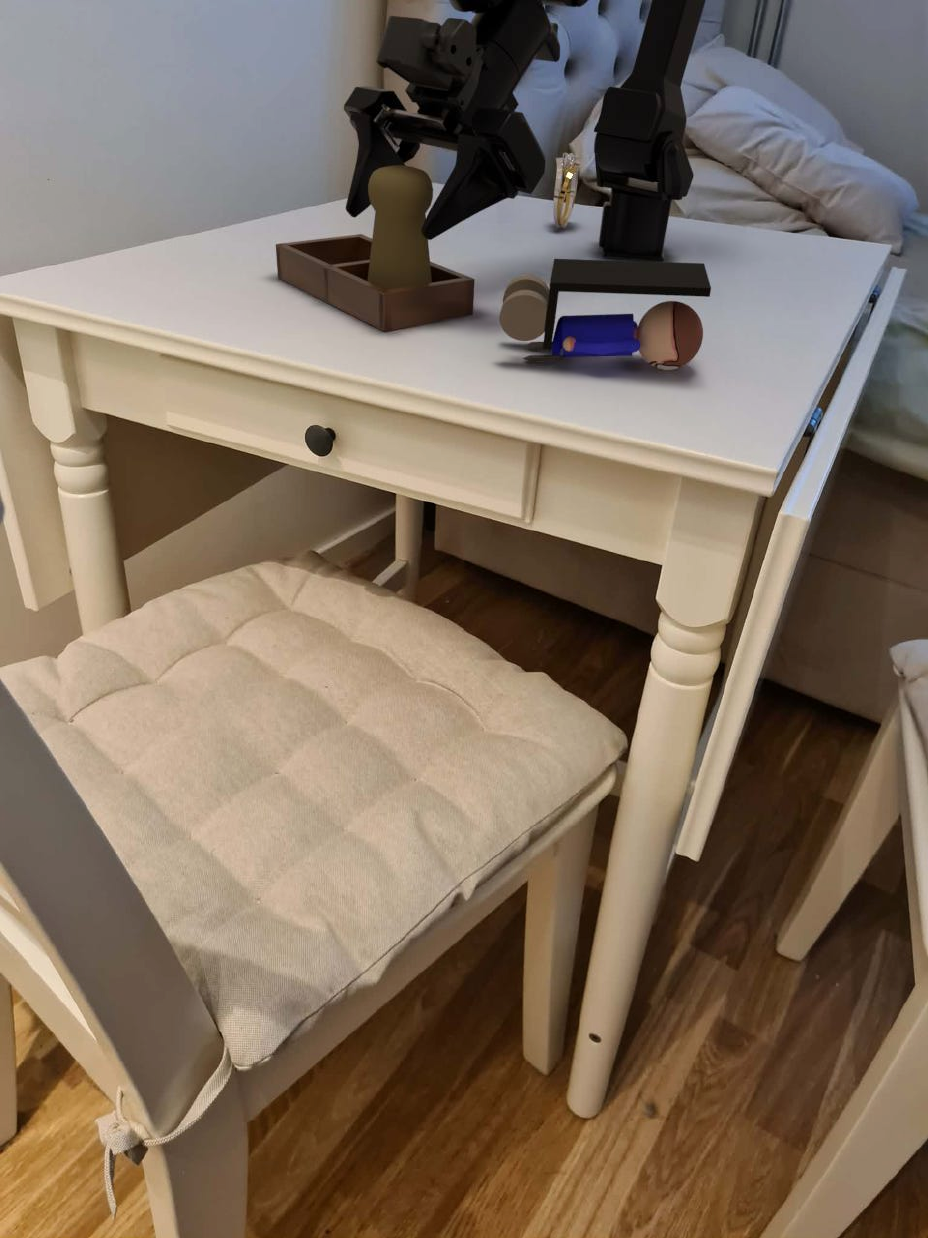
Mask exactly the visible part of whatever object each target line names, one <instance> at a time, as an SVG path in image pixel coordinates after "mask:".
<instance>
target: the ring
mask: <svg viewBox="0 0 928 1238" xmlns="http://www.w3.org/2000/svg"><path fill="white" fill-rule="evenodd" d="M579 156H580V153H578V152H576V153H575V154H574V153H573V152H569V153H568V152H564V151H563V154H562V157H555V162H556V175H555V183H554V191H553V193H554V194H553V202H552V203H553V205H552V213H553V214H552V215H553V222H554V224H555V226H556V227H557V228H558V229H567V225H568V224H569V221H570V219H571V218H572V214H573V211H574V206H575V201H576V198H577V197H576V195H577V189H578V179H579V171H580V166H581V165H582V163H583V160H582V159H579ZM563 177H564V182H563ZM564 203H565V205H564ZM563 208H564V209H563Z"/></svg>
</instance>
